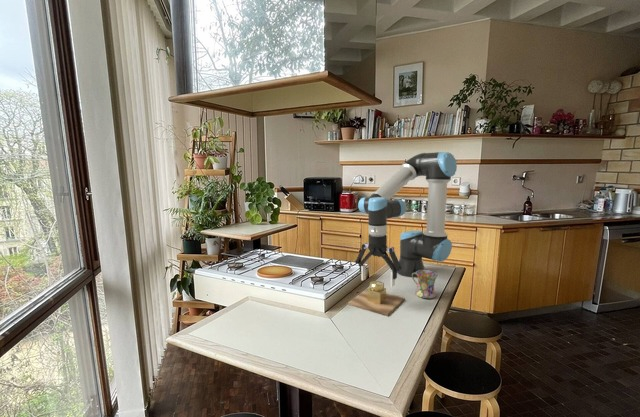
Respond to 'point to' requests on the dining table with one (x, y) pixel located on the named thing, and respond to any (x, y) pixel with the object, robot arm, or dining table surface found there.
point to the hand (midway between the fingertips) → (377, 282)
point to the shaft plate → (382, 308)
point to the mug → (425, 283)
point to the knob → (376, 292)
